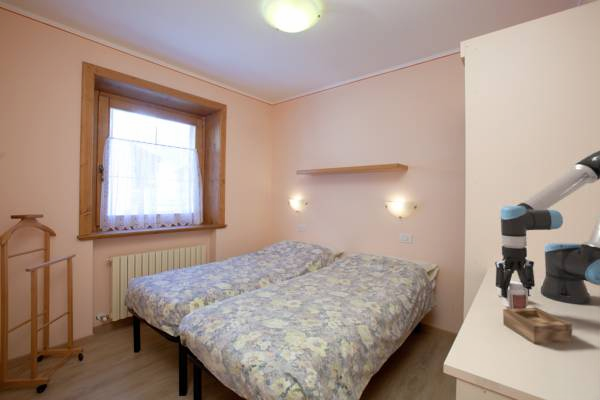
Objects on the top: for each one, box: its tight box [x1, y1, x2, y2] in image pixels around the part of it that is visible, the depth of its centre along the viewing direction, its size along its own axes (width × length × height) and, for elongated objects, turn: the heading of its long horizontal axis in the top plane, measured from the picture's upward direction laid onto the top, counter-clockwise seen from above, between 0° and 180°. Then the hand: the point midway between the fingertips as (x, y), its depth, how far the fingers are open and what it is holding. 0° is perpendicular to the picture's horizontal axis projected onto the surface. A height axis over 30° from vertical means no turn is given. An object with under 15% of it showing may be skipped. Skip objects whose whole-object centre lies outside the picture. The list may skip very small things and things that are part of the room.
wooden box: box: [502, 307, 573, 345], centre depth 88 cm, size 12×12×6 cm
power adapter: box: [496, 286, 532, 298], centre depth 113 cm, size 11×5×6 cm, turn 25°
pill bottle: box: [505, 280, 527, 309], centre depth 103 cm, size 6×6×11 cm
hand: (515, 304), depth 103 cm, fingers closed on pill bottle, 6 cm apart
